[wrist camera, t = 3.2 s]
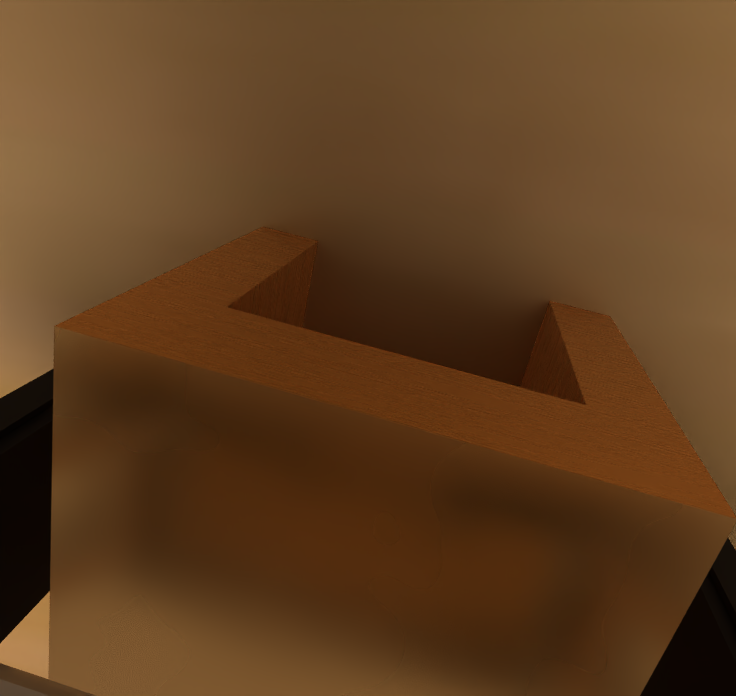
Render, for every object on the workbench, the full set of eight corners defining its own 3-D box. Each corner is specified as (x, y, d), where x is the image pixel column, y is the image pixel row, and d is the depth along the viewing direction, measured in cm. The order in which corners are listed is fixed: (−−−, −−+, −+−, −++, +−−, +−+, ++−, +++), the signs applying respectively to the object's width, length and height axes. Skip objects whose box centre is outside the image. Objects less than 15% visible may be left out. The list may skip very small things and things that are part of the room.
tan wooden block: (263, 226, 10) (53, 326, 5) (610, 316, 10) (738, 519, 5) (216, 543, 13) (46, 808, 8) (488, 626, 13) (488, 967, 8)
